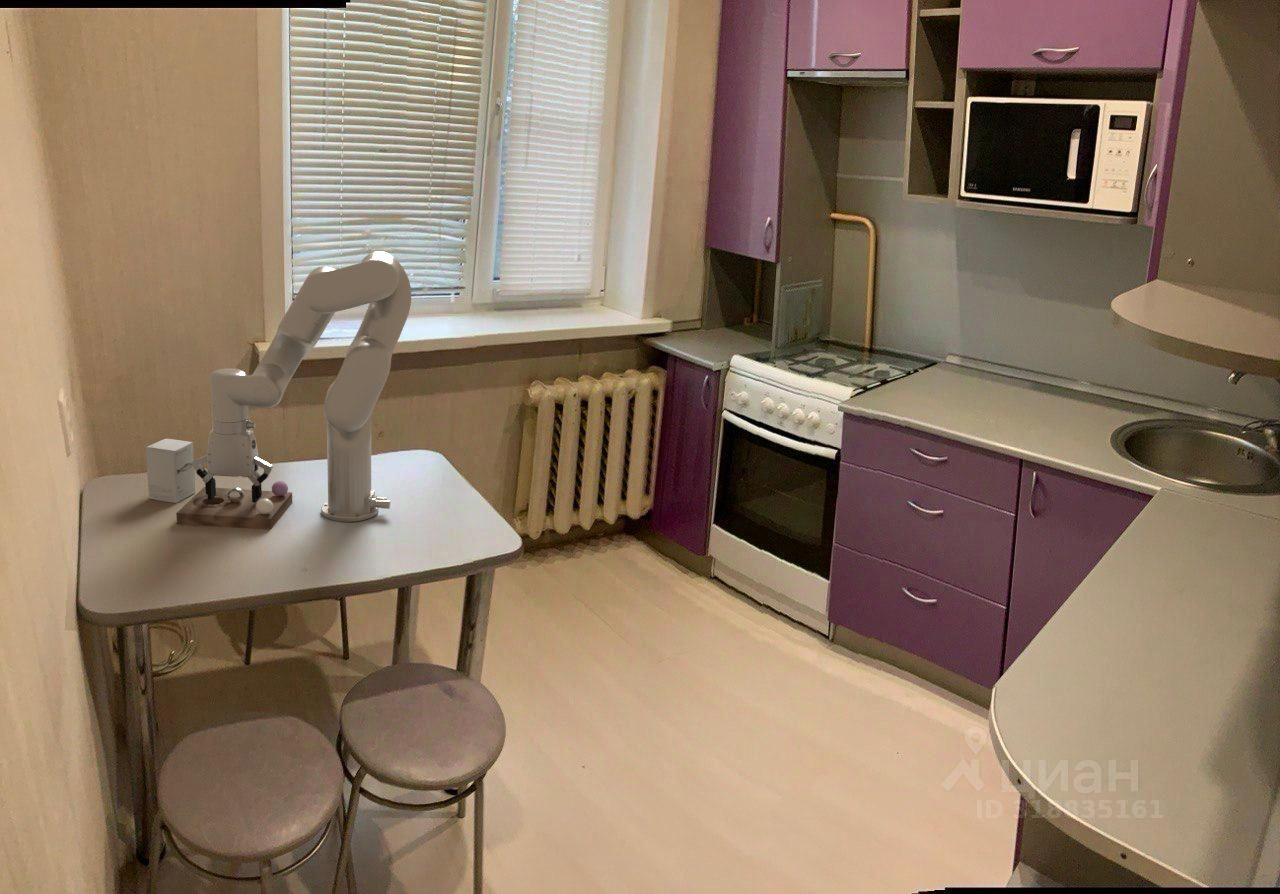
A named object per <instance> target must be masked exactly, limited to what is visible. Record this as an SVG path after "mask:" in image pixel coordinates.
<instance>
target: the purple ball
mask: <svg viewBox="0 0 1280 894" xmlns="http://www.w3.org/2000/svg"><path fill="white" fill-rule="evenodd" d="M271 491H272V492H273V494H275V495H276V496H283V495H285V494H286V493H287V492H288V491H289V486H288V484H287V483H286V482H285V481H282V480H277V481H275V482H274V483H273V484H272V486H271Z"/></svg>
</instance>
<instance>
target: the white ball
mask: <svg viewBox="0 0 1280 894" xmlns="http://www.w3.org/2000/svg"><path fill="white" fill-rule="evenodd" d="M256 509H257V511H258V512H259V513H260V514H268V513H270V512H271V511H272V509H273V503H272V502H271V501H270V500H269V499H266V498H263V499H260V500H259V501H258V502H257V504H256Z"/></svg>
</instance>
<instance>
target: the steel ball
mask: <svg viewBox="0 0 1280 894" xmlns="http://www.w3.org/2000/svg"><path fill="white" fill-rule="evenodd" d="M229 489H230V490H229V491H228V494H227V496H228V499H229V500H230V501H231V502H233V503H239V502H241V501H242V500H243V498H244V492H243V490H242V488H241V487H238V486H237V487H231V488H229Z"/></svg>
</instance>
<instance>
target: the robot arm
mask: <svg viewBox="0 0 1280 894" xmlns="http://www.w3.org/2000/svg"><path fill="white" fill-rule="evenodd" d="M411 288H412V287H411V282H410V280H409V276H408V275H407V271H405V268H404V267H403V266H402V264H401V263H400V261H399V260H398V259H397V258H395V256H393V255H392V254H390V253H388V252H386V251H381V250H377V251H372V252H370V253H368V254H367V255H365V256H364V257H363V259H362V260H361V262H358V263H355V264H352V265H347V266H344V267H341V268H340V267H339V268H337V269H336V268H334V267H331V266H324V265H323V266H319V267H317V268H313V270H311V272H309V274H307V277H306V278H305V280H304V281H303V283H302V286H301V287H300V288H299V290H298V291H297V294H296V295H295V297H294V299H293V300H292V302H291V304H290V306H289V307H288V309H287V311H286V313H285V314H284V316H283V317H282V319H281V320H280V323H279V325H278V326H277V330H276V333H275V335H274V337H273V339H272V342H271V343H270V344H269V346H268V348H267V349H266V351H265V352H264V355H263V357H262V358H261V360H260V362H259V363H258V365H257V366H256V368H255V370H254V371H253V373H252V374H250V375H249V374H248V375H247V373H246V372H245V371H244V370H242V369H238V368H233V367H232V368H230V367H229V368H226V367H225V368H220V369H216V370H214V371H212V372H211V374H210V375H209V376H210V377H209V384H210V385H209V386H210V405H211V406H210V407H211V427H212V428H211V430H210V431H209V435H208V439H207V448H206V454H205V455H204V456H203V455H202V456H201V457H198V458H196V459H194V461H193V462H192V465H193V467H194V471H195V472H196V473H195V474H196V475H197V476H199V477H200V478H201V480H202V482H203V483H204V485H205V486H204V487H205V489H206V495H208V500H211V499H212V498H214V497H215V496H216V488H217V487H216V486H217V485H216V479H215V478H214V477H215V476H218V477H231V478H248V479H249V480H250V482H251V483H252V485H251V490H252V502H253V503H256V502H257V501H258V500H259V498H261V496H262V491H263V490H262V489H263V488H262V483H263V482H264V481H265V480H266V479H268V477H270V474H271V473H272V471H273V468H274V465H273V464H272V463H271V464H270V463H269V462H268V461H265V460H263V459H261V458H260V457H259V451H258V445H257V441H256V440H257V438H256V436H255V432H254V430H253V429H256V426H257V424H256V421H252V420H251V417H250V412H249V411H250V410H249V407H253V408H257V409H258V408H259V409H271V408H274V407H275V406H277V405H278V404H279V403H280V402H281V400H282V399H283V397H284V394H285V391H286V390H287V387H288V385H289V383H290V382H291V379H292V378H293V376H294V374H295V373H296V371H297V369H298V367H299V366H300V364H301V363H302V361H303V360H304V358H305V357H306V355H307V354H308V353H309V351H311V350H312V349H313V348H314V347H315V346H316V344H317V343H318V341H319V340H320V338H321V336H323V333H324V331H325V329H326V328H327V326H329V323H330V322H331V320H332V319H333V317H334V315H335V313H336V312H341V311H345V310H349V309H352V308H353V309H354V308H357V307H360V306H364V305H367V304H369V305H368V307H367V309H366V311H365V314H364V316H363V319H362V322H361V324H360V325H359V328H358V330H357V332H356V334H355V336H354V338H353V340H352V341H351V343H350V344H349V345H348V348H347V350H346V353H345V357H344V359H343V362H342V365H341V367H340V369H339V372H338V374H337V376H336V378H335V380H334V381H333V382H332V383H331V384H330V386H329V387H328V390H327V391H326V395H325V399H324V403H323V404H324V405H323V416H324V418H325V420H326V435H327V437H326V441H327V442H326V443H327V444H326V449H327V451H326V452H327V453H326V454H327V455H326V456H327V457H326V458H327V501H326V502H325V503H323V504H322V505H321V507H320V512H321V513H320V514H321V515H322V516H323V517H325V518H327V519H328V520H332V521H335V522H336V521H337V522H346V523H347V522H360V521H365V520H368V519H372V518H373V517H375V516H376V515H377V514H378V513H379V509H386V510H387V509H388V510H389V509H391V500H388V497H386V496H385V497H384V496H381V497H379V496H378V495H375V493H376V490H374V489H372V413H373V410H374V407H375V406H376V404H377V401H378V400H379V397H380V395H381V394H382V392H383V389H384V387H385V385H386V383H387V379H388V377H389V374H390V371H391V365H392V364H391V363H392V356H393V353H394V350H395V348H396V346H397V344H398V341H399V339H400V337H401V334H402V331H403V330H404V327H405V325H406V322H407V320H408V317H409V314H410V310H411V305H412V289H411ZM204 463H206V469H207V470H206V469H205V468H204V467H203V465H202V464H204ZM259 468H261V469H263V472H262V474H261V475H260V473H259V472H258V471H259Z"/></svg>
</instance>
